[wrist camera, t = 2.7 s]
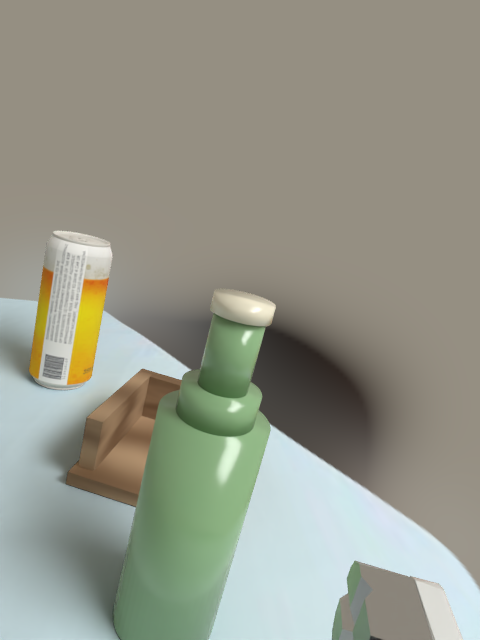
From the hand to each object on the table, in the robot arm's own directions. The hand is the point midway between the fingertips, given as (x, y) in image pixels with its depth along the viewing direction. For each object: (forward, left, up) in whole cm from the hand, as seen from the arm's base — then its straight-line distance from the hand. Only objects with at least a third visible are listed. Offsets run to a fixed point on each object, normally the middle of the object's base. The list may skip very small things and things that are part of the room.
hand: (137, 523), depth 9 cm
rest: (-12, +22, -15) cm, 30 cm away
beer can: (-29, +25, -16) cm, 42 cm away
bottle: (-4, +11, -15) cm, 20 cm away
